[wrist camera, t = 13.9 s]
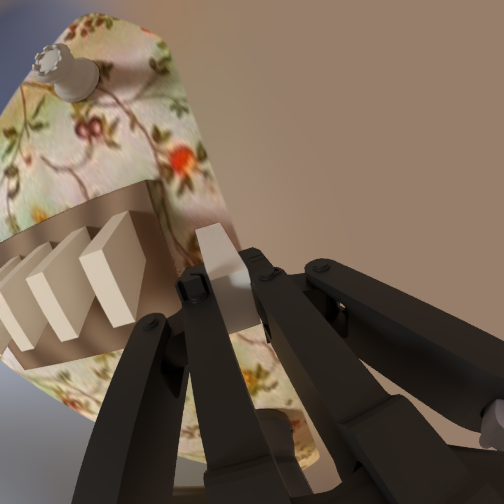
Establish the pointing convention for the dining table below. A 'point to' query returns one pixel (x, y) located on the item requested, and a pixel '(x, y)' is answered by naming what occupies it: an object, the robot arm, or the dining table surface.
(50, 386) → the dining table surface
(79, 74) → the rook chess piece
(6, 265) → the domino
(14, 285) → the domino
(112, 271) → the domino
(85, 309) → the domino
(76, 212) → the walnut board
